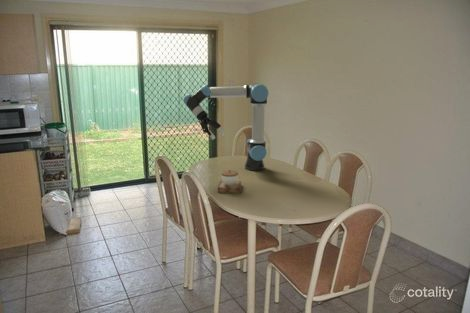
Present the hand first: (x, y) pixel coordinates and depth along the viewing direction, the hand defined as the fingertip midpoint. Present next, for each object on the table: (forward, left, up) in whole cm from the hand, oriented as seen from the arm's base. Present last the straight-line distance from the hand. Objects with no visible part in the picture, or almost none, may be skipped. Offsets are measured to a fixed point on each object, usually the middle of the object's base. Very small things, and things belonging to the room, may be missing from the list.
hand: (219, 137), depth 240 cm
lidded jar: (-9, +21, -27) cm, 35 cm away
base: (-9, +21, -30) cm, 37 cm away
